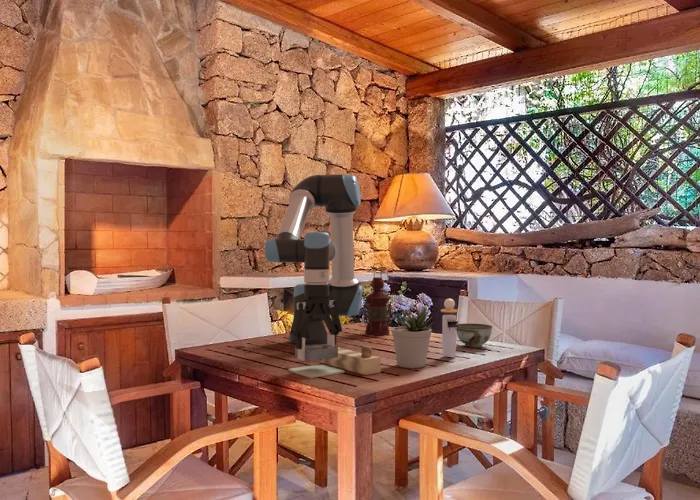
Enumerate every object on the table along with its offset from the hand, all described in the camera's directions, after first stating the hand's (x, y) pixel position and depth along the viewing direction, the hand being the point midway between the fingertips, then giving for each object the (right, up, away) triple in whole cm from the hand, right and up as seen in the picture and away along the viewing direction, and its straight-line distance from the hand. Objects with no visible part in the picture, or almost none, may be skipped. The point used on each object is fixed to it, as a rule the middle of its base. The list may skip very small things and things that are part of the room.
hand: (316, 357), depth 182 cm
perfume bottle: (+44, -4, +24) cm, 50 cm away
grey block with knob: (0, 0, 0) cm, 0 cm away
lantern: (+22, -4, +75) cm, 78 cm away
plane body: (+10, -4, +7) cm, 13 cm away
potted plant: (+30, -4, +9) cm, 31 cm away
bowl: (+56, -4, +45) cm, 72 cm away
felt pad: (0, -4, 0) cm, 4 cm away
